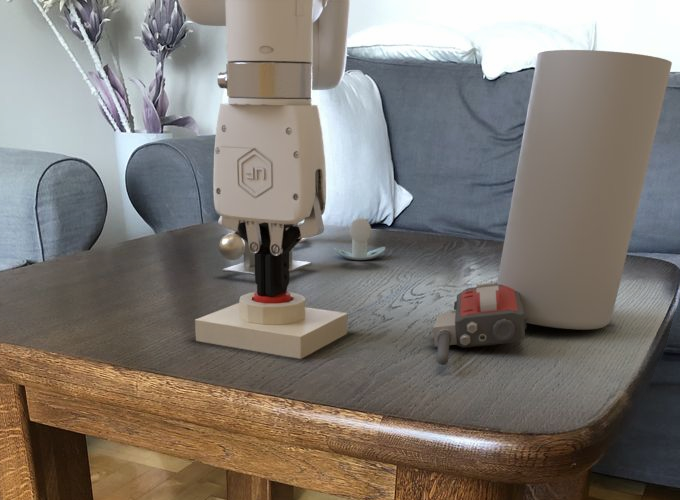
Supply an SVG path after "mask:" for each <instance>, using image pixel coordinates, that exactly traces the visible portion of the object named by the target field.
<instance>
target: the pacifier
mask: <svg viewBox="0 0 680 500" xmlns="http://www.w3.org/2000/svg"><path fill="white" fill-rule="evenodd" d="M371 234H372V226H371V224H370V222H369V221H368V220H367V219H366V218H363V217H358V218H356V219H354V220H353V221H352V223H351V224H350V227H349V236H350V238H351V239H352V242H351V246H352V247H351V252H350V251H347V250H344V249H342V248H339V247H337V246H333V250H334V251H335V252H336V254H338V255H340V256H341V257H343V258H345V259H346V260H351V261H367V260H373V259H375V258H377V257H379V256H380V255H382V254H383V253H384V252H385V251H386V246H381V247H377V248H375V249H372V250H369V251H368V240H369V238H370V236H371Z"/></svg>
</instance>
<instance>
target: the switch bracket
mask: <svg viewBox="0 0 680 500" xmlns="http://www.w3.org/2000/svg"><path fill="white" fill-rule="evenodd" d="M272 226H273V223H271V227H272ZM244 243H245V251H244V254H243V262H240V263H237V264H234V265H231V266H228V267H225V268H223V269H222V272H225V273H233V274H240V275H249V276H255V253H252V252H251V251H250V250H249V245H248V243H247V241H246V240H245V239H244ZM309 266H312V262H311V261H302V260H294V259H293V251H290V252H289V274H290V273H293V272H295V271H299V270H300V269H304V268H306V267H309Z"/></svg>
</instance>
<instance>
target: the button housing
mask: <svg viewBox="0 0 680 500" xmlns="http://www.w3.org/2000/svg"><path fill="white" fill-rule="evenodd" d="M255 292H256V291H254V292H248V293H246V294H243V295H240V296H239V301H238V302H237V303H235V304H232V305H230V306H227V307H224V308H221V309H219V310H217V311H214V312H211V313H209V314H206V315H203V316H201V317H198V318H196V319H194V326H195V327H194V328H195V341H196V342H201V343H207V344H213V345H219V346H223V347H229V348H236V349H241V350H246V351H252V352H259V353H264V354H271V355H276V356H282V357H288V358H293V359H299V360H302V359H303V358H305V357H308V356H309V355H311V354H313V353H314V352H316V351H318V350H320V349H322V348H323V347H326V346H327V345H329V344H331V343H333V342H335V341H336V340H338V339H340V338H342V337H344V336H345V335H347V334H348V313H347V312H343V311H342V312H341V311H334V310H328V309H321V308H314V307H308V306H307V307H306V298H305V296H304V295H301V294H300V293H297V292H292V291H291V292H290V291H289V292H290V302H285V303H278V304H270V303H259V302H255V301H254V293H255Z"/></svg>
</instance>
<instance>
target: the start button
mask: <svg viewBox="0 0 680 500" xmlns="http://www.w3.org/2000/svg"><path fill="white" fill-rule="evenodd" d="M254 292H255V293H254V301H255V302H259V303H270V304H278V303H285V302H290V291H288V290H287V291H286V292H285V293H282V294H280V295H277V296H275V297H268V296H267V295H265V296H259V295H258V294H257V291H254Z"/></svg>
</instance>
